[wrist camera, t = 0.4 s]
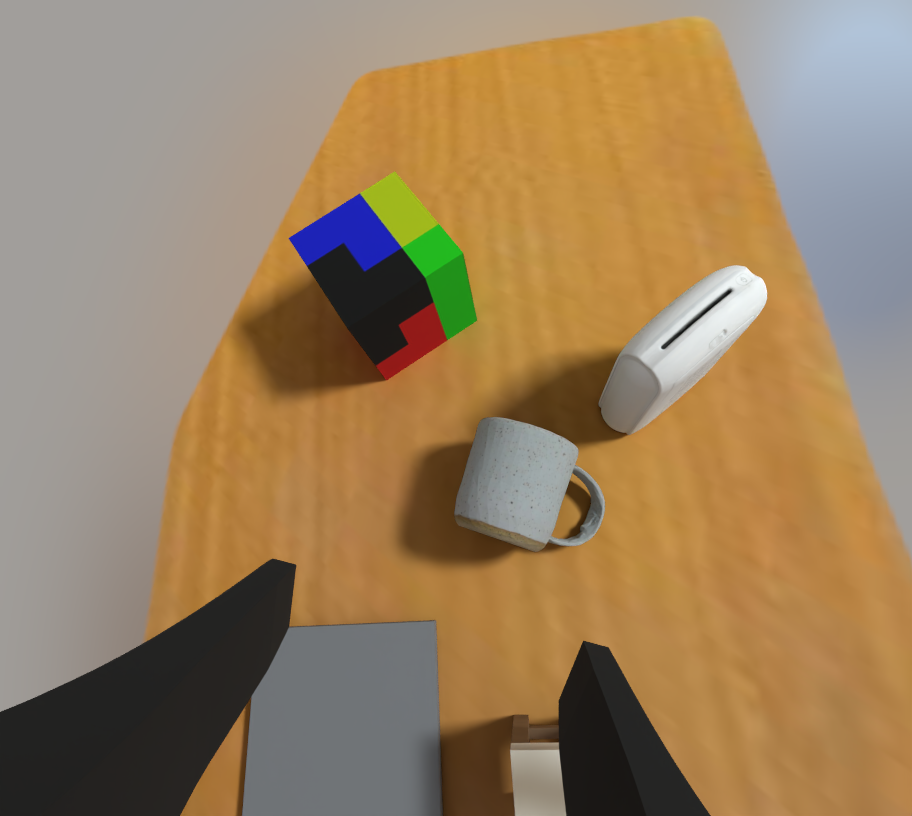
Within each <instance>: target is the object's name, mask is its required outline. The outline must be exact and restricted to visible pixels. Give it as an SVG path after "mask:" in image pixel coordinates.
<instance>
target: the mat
mask: <svg viewBox="0 0 912 816" xmlns="http://www.w3.org/2000/svg"><path fill="white" fill-rule="evenodd" d="M242 816H443V805H442V776H441V748H440V719H439V691H438V662H437V634H436V620H430V621H408V622H385V623H363V624H340V625H318V626H295V627H289V628H288V630H287V633H286V635H285V637H284V639H283V641H282V643H281V645H280V647H279V649H278V651H277V653H276V655H275V657H274V659H273V661H272V663H271V665H270V667H269V669H268V671H267V672H266V674H265V675H264V677H263V679H262V680H261V682H260V684H259V685H258V687H257V688H256V690H255V691H254V693H253V695H252V699H251V711H250V724H249V736H248V749H247V761H246V774H245V786H244V799H243V811H242Z"/></svg>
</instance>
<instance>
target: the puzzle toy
mask: <svg viewBox="0 0 912 816" xmlns="http://www.w3.org/2000/svg"><path fill="white" fill-rule="evenodd" d="M289 240H290V241H291V243H292V244H293V246H294V247H295V249H296V250H297V252H298V253H299V255H300V256H301V258H302V259H303V261H304V262H305V264H306V266H307V267H308V269H309V270H310V272H311V273H312V275H313V276H314V278H315V279H316V281H317V282H318V284H319V285H320V287H321V288H322V290H323V292H324V293H325V295H326V296H327V298H328V299H329V301H330V302H331V304H332V305H333V307H334V308H335V310H336V311H337V313H338V315H339V316H340V318H341V319H342V321H343V322H344V324H345V325H346V327H347V328H348V330H349V331H350V332H351V334H352V335H353V336H354V338H355V339H356V340H357V342H358V343H359V344H360V346H361V347H362V348H363V350H364V351H365V352H366V354H367V355H368V356H369V358H370V359H371V360H372V362H373V363H374V364H375V366H376V367H377V368H378V370H379V371H380V372H381V374H382V375H383V376H384V378H385V379H386V380H388V379H389V378H391V377H392V376H394V375H395V374H397V373H398V372H400V371H401V370H403V369H404V368H406V367H408V366H409V365H411V364H412V363H414V362H415V361H417V360H418V359H420V358H421V357H423V356H424V355H426V354H427V353H429V352H430V351H432V350H433V349H435V348H436V347H438V346H439V345H441V344H442V343H444V342H445V341H447V340H448V339H450V338H451V337H453V336H454V335H456V334H457V333H459V332H461V331H462V330H464V329H465V328H467V327H468V326H470V325H471V324H473V323H474V322H476V321H477V317H476V313H475V308H474V303H473V298H472V293H471V288H470V284H469V279H468V274H467V269H466V264H465V259H464V255H463V252H462V251H461V250H460V249H459V247H458V246H457V245H456V244H455V243H454V241H453V240H452V239H451V238H450V237H449V235H448V234H447V233H446V232H445V231H444V230H443V228H442V227H441V226H440V225H439V224H438V222H437V221H436V220H435V219H434V218H433V216H432V215H431V214H430V213H429V212H428V210H427V209H426V208H425V207H424V206H423V204H422V203H421V202H420V201H419V200H418V199H417V197H416V196H415V195H414V194H413V193H412V191H411V190H410V189H409V188H408V187H407V185H406V184H405V183H404V182H403V181H402V179H401V178H400V177H399V176H398V175H397V174H396V172H393V173H392V174H390V175H389V176H387V177H385V178H384V179H382V180H381V181H379V182H377V183H376V184H374V185H373V186H371V187H369V188H368V189H366V190H365V191H363V192H361V193H360V194H358V195H357V196H355V197H353V198H352V199H350V200H349V201H347V202H346V203H344V204H342V205H341V206H339V207H338V208H336V209H334V210H333V211H331V212H330V213H328V214H326V215H325V216H323V217H322V218H320V219H318V220H317V221H315V222H314V223H312V224H310V225H309V226H307V227H306V228H304V229H302V230H301V231H299V232H298V233H296V234H295V235H293V236H291V237H290V238H289Z"/></svg>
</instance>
